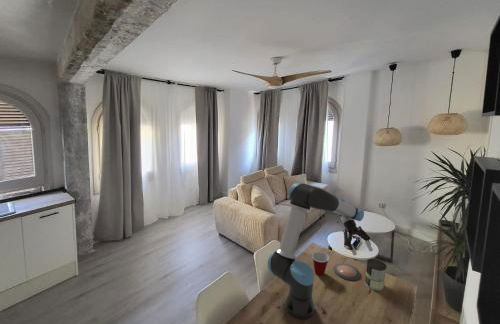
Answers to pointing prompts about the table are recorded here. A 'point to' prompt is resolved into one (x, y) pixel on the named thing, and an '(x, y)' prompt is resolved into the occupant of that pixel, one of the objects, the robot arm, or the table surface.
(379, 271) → the coffee can
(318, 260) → the plastic cup
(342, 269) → the round plate
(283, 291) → the table surface
